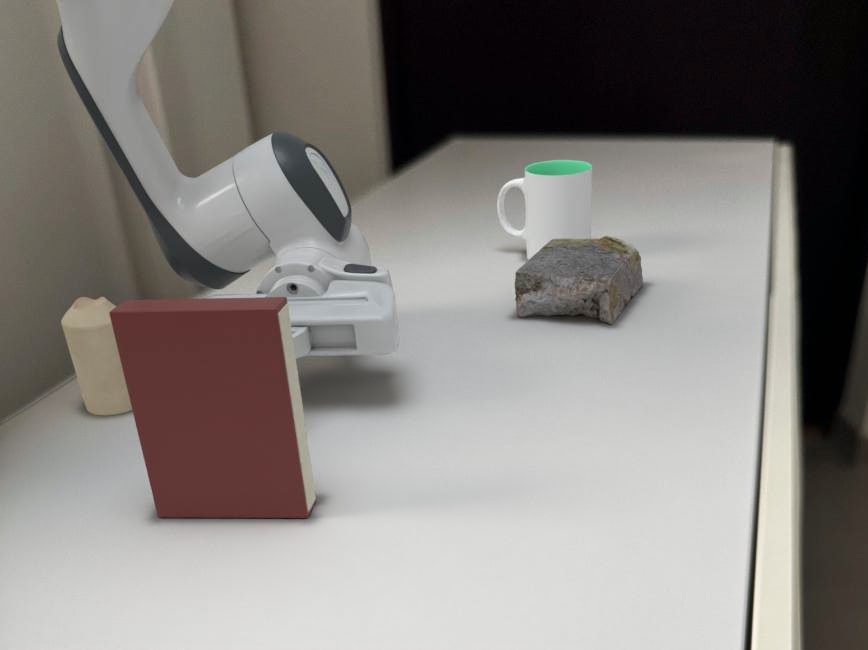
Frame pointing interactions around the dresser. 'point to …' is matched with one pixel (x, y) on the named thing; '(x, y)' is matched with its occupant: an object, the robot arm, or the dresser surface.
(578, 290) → the geological specimen
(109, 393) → the candle
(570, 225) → the mug
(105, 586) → the dresser surface
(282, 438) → the book
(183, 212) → the robot arm
